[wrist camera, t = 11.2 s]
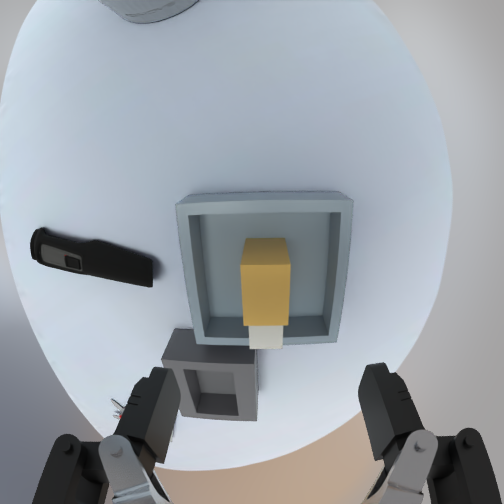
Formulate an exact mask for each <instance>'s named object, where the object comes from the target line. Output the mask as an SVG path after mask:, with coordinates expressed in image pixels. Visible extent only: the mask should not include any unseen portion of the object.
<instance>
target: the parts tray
mask: <svg viewBox="0 0 504 504" xmlns="http://www.w3.org/2000/svg"><path fill="white" fill-rule="evenodd" d="M175 206H176V215H177V224H178V232H179V240H180V248H181V255H182V262H183V269H184V276H185V282H186V289H187V295H188V301H189V306H190V312H191V317H192V323H193V328H194V333H195V338H196V343H197V344H207V345H249V326H244V323H243V306H242V288H241V269H240V264H241V259H242V254H243V249H244V244H245V239H246V238H285V240H286V245H287V250H288V254H289V259H290V264H291V270H290V298H289V320H288V325H283V345H300V344H319V343H334V342H337V337H338V332H339V326H340V320H341V314H342V307H343V301H344V294H345V286H346V278H347V270H348V261H349V251H350V240H351V228H352V213H353V200H352V199H350V198H349V197H347V196H345V195H344V194H342V193H341V192H325V191H275V192H237V193H214V194H197V195H188V196H187V197H185V198H184V199H182V200H181V201H179V202H178V203H176V204H175Z"/></svg>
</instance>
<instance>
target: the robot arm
mask: <svg viewBox="0 0 504 504" xmlns="http://www.w3.org/2000/svg"><path fill="white" fill-rule="evenodd" d="M98 1H100V2H101V3H102V4H104V5H105V6H107V7H108V8H110V9H111V10H112V11H114V12H115V13H116V14H118V15H119V16H120V17H122V18H123V19H125V20H127V21H129V22H135V23H150V22H155V21H160V20H163V19H166V18H169V17H171V16H174V15H176V14H178V13H180V12H182V11H184V10H185V9H187V8H189V7H190V6H192V5H193V4H194V3H195V2H197V1H198V0H98ZM358 398H359V402H360V406H361V409H362V413H363V416H364V420H365V424H366V428H367V431H368V435H369V439H370V443H371V447H372V451H373V456H374V459H375V461H377V460H381V459H383V460H384V464H385V465H384V466H383V468H382V470H381V471H380V473H379V475H378V477H377V479H376V480H375V482H374V484H373V486H372V487H371V489H370V491H369V492H368V494H367V496H366V497H365V499H364V500H363V502H362V503H361V504H421V503H422V500H423V493H422V488H423V486H424V483H425V480H426V479H427V484H428V488H429V493H430V498H431V504H502V502H501V498H500V493H499V489H498V486H497V482H496V478H495V475H494V472H493V468H492V465H491V462H490V459H489V456H488V453H487V451H486V448H485V445H484V443H483V440H482V437H481V435H480V433H479V432H478V431H477V430H475V429H473V428H465V429H463V430H461V431H460V432H459V433H458V434H457V435H456V436H442V437H441V436H435V435H434V434H433V433H432V432H430V431H428V430H425V428H424V427H423V425H422V422H421V420H420V417H419V415H418V412H417V410H416V407H415V405H414V403H413V401H412V399H411V396H410V393H409V392H408V389H407V387H406V384H405V383H404V380H403V379H402V378H401V377H400V376H399V375H397V373H396V372H395V373H390V372H389V370H388V368H387V366H386V364H385V363H384V362H383V363H376V364H370V365H367V366H366V368H365V371H364V374H363V376H362V379H361V382H360V385H359V389H358ZM180 401H181V392H180V388H179V386H178V383H177V380H176V377H175V375H174V372H173V370H172V369H171V368H162V367H154V368H153V369H152V371H151V374H150V376H149V378H146V377H143V378H142V379H140V380H139V381H138V382H137V383H136V384H135V386H134V388H133V390H132V393H131V397H129V400H128V402H127V403H128V404H126V407H125V409H124V411H123V414H122V416H121V418H120V421H119V423H118V426H117V428H116V430H115V432H114V434H113V435H111V436H108V437H106V438H104V439H103V440H102V441H101V442H81V441H79V439H77V437H75V436H74V435H71V434H64V435H61V436H60V437H58V438H57V439H56V441H55V443H54V445H53V447H52V450H51V452H50V455H49V457H48V460H47V462H46V465H45V467H44V470H43V473H42V476H41V478H40V481H39V484H38V487H37V490H36V493H35V496H34V499H33V502H32V504H104V503H105V499H106V494H107V490H108V487H109V483H110V485H111V488H112V490H113V492H114V497H113V498H112V502H113V504H174V503H173V502H172V501H171V499H170V497H169V496H168V494H167V492H166V491H165V489H164V487H163V485H162V484H161V482H160V480H159V478H158V477H157V475H156V473H155V471H154V466H155V462H157V463H162V464H164V462H165V458H166V454H167V450H168V446H169V442H170V438H171V435H172V431H173V427H174V423H175V420H176V416H177V412H178V409H179V405H180Z"/></svg>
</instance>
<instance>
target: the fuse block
mask: <svg viewBox="0 0 504 504" xmlns="http://www.w3.org/2000/svg"><path fill="white" fill-rule="evenodd" d="M161 360H162V363H163V366H164V368H171V369H172V370H173V372H174V375H175V377H176V380H177V383H178V386H179V388H180V392H181V401H180V405H179V410H180V412H181V415H182V416H184V417H193V418H203V419H215V420H231V421H257V409H258V370H257V349H250V345H207V344H197V343H196V338H195V333H194V330H189V329H174V331H173V334H172V336H171V338H170V340H169V342H168V345H167V347H166V349H165V351H164V354H163V356H162V358H161Z"/></svg>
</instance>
